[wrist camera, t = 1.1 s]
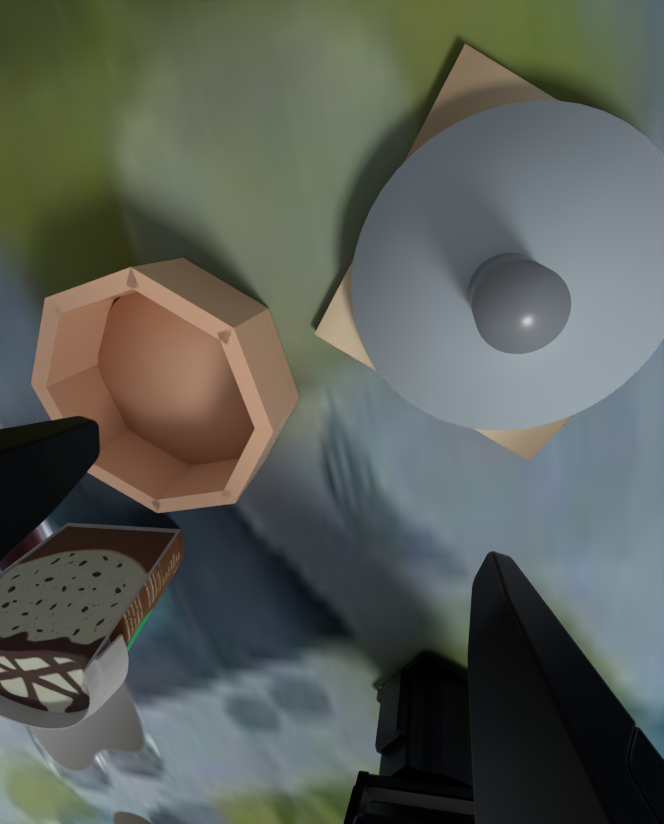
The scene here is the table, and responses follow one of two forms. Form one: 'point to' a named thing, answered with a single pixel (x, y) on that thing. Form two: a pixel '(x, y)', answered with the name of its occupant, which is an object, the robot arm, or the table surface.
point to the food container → (77, 618)
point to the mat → (458, 99)
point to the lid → (515, 266)
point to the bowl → (167, 381)
